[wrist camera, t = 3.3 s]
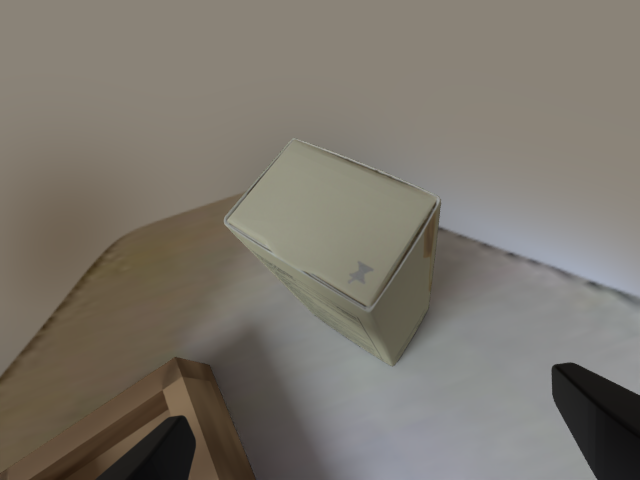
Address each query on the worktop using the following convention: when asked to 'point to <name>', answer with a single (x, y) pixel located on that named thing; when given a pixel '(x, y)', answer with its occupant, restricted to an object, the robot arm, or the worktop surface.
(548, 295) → the worktop surface
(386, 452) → the worktop surface
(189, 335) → the worktop surface
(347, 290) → the skincare box
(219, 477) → the u rest
